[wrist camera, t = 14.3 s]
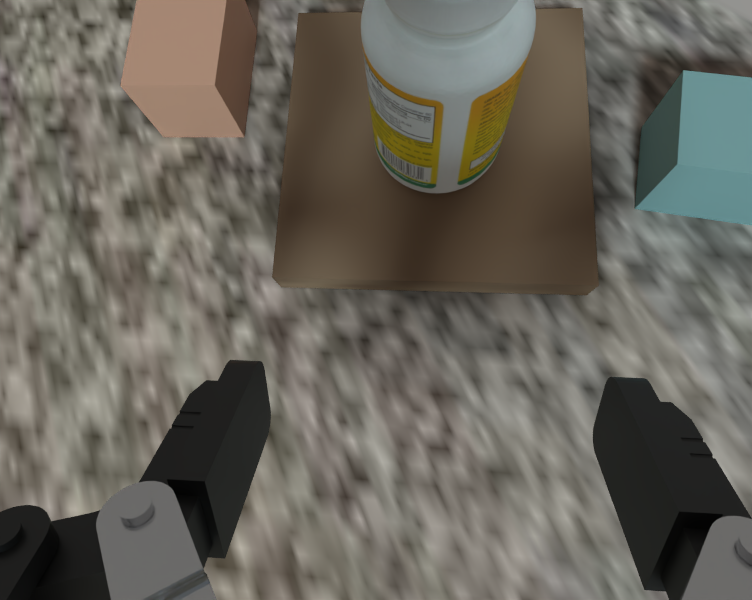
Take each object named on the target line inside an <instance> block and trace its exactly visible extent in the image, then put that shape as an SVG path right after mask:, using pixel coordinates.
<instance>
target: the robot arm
mask: <svg viewBox="0 0 752 600" xmlns="http://www.w3.org/2000/svg"><path fill="white" fill-rule="evenodd" d="M270 420H271V410H270V403H269V396H268V390H267V383H266V377H265V370H264V366H263V363H262V362H261V361H242V360H230V361H229V362H228V363H227V364H226V366H225V368H224V370H223V372H222V374H221V376H220V378H219V380H218V381H209V380H206V381H205V382H204V383H203V384H201V385H200V386H199V387H198V388H197V389H195V390H194V391H193V392H192V393H191V394H190V395H189V396H188V398H187V400H186V401H185V403H184V405H183V407H182V408H181V410H180V414H179V415H177V417H176V419H175V421H174V422H173V424H172V428H171V429H169V431H168V433H167V435H166V436H165V438H164V440H163V441H162V443H161V445H160V447H159V448H158V450H157V452H156V454H155V455H154V457H153V459H152V461H151V462H150V464H149V466H148V468H147V469H146V471H145V473H144V475H143V476H142V478H141V480H140V481H139V483H135V484H133V485H130V486H128V487H126V488H124V489H122V490H120V491H119V492H117V493H116V494H115V495H113V496H112V497H111V498H110V499H109V500H108V501H107V502H106V503H105V504H104V506H103V507H102V509H101V510H100V511H96V512H93V513H89V514H84V515H79V516H75V517H70V518H65V519H61V520H56V521H52V522H51V520H50V518H49V516H48V514H47V512H46V511H45V510H43V509H42V508H40V507H37V506H31V505H24V506H17V507H13V508H10V509H7V510H4V511H2V512H0V600H216V597H215V595H214V592H213V589H212V587H211V584H210V581H209V579H208V577H207V574H206V573H205V572H204V570H203V569H204V566H205V563H206V561H207V558H208V557H212V558H225V557H226V554H227V551H228V548H229V546H230V543H231V540H232V537H233V534H234V531H235V528H236V525H237V523H238V520H239V517H240V514H241V511H242V508H243V505H244V502H245V500H246V497H247V494H248V491H249V488H250V485H251V482H252V480H253V477H254V474H255V471H256V468H257V465H258V462H259V459H260V457H261V454H262V451H263V448H264V445H265V442H266V439H267V436H268V433H269V428H270ZM593 445H594V451H595V454H596V457H597V460H598V463H599V465H600V468H601V471H602V474H603V476H604V479H605V482H606V485H607V487H608V490H609V493H610V496H611V499H612V501H613V504H614V507H615V510H616V512H617V515H618V518H619V521H620V523H621V526H622V529H623V532H624V535H625V537H626V540H627V543H628V546H629V548H630V551H631V554H632V557H633V559H634V562H635V565H636V568H637V570H638V573H639V576H640V579H641V582H642V584H643V587H644V590H653V591H666V592H667V595H668V598H669V600H752V518H751V517H750V515H749V513H748V512H747V510H746V508H745V507H744V505H743V504H742V502H741V500H740V499H739V497H738V495H737V494H736V492H735V490H734V489H733V487H732V485H731V484H730V482H729V481H728V479H727V477H726V476H725V474H724V472H723V471H722V469H721V467H720V466H719V464H718V463H717V461H716V459H713V457H712V455H713V454H712V453H711V451H710V449H709V448H708V446H707V445H706V443H705V442H703V438H702V436H701V435H700V433H699V431H698V430H697V428H696V426H695V425H694V423H693V422H692V420H691V419H690V418H689V417H688V416H687V415H685V414H684V413H683V412H682V411H681V410H680V409H678V408H677V407H676V406H675V405H674V404H673V403H671V402H660V400H659V399H658V397H657V395H656V393H655V391H654V390H653V388H652V386H651V384H650V383H649V381H648V380H647V379H644V378H623V377H610V378H608V380H607V382H606V384H605V388H604V391H603V395H602V398H601V402H600V406H599V409H598V413H597V416H596V420H595V424H594V428H593Z"/></svg>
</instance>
